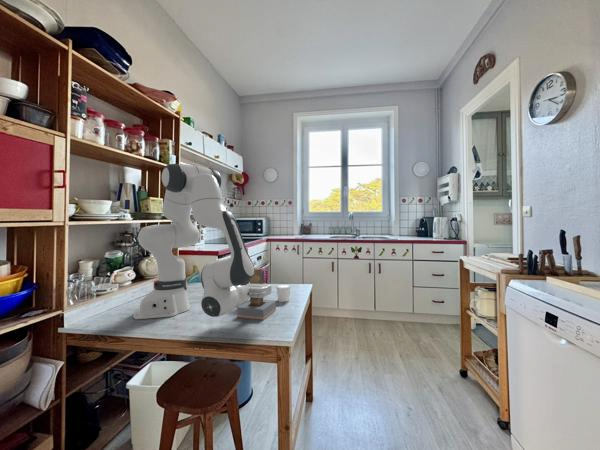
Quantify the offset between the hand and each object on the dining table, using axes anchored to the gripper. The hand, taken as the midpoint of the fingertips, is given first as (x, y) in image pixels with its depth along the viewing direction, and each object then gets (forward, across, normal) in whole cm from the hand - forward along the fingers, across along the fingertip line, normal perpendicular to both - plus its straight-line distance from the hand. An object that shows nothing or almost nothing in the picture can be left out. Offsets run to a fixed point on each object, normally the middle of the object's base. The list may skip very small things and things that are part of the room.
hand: (255, 284), depth 112 cm
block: (+1, 0, +12) cm, 12 cm away
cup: (+17, +8, +13) cm, 23 cm away
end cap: (+1, 0, +13) cm, 13 cm away
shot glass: (+22, -4, +13) cm, 25 cm away
